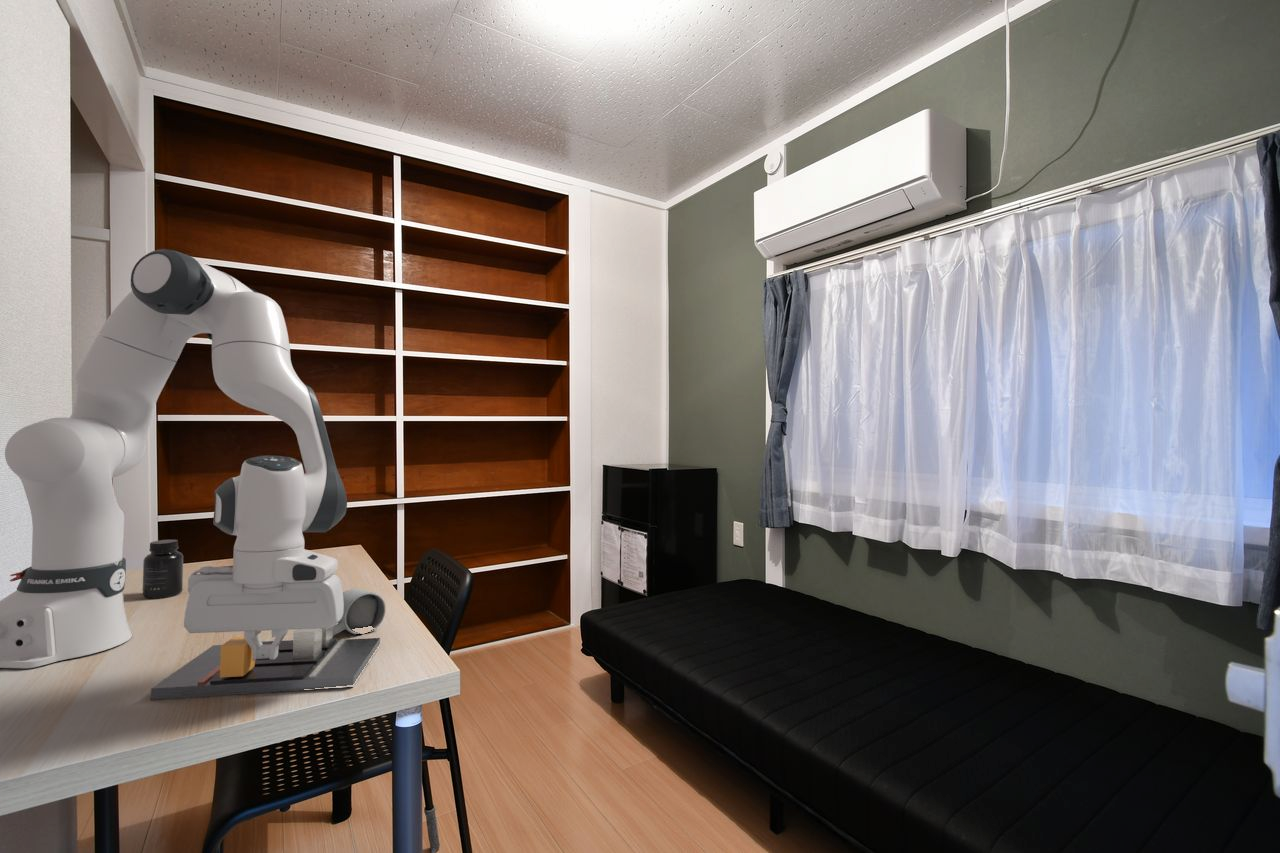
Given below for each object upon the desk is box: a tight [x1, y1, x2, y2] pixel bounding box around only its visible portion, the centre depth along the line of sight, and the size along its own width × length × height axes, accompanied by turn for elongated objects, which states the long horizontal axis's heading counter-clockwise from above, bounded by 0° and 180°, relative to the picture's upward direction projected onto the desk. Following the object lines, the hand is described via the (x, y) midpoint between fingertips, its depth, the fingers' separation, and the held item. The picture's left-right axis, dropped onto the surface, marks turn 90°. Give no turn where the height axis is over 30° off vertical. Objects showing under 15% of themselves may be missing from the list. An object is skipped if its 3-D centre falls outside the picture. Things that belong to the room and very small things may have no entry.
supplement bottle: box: [142, 539, 184, 600], centre depth 124 cm, size 7×7×12 cm
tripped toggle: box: [220, 636, 255, 677], centre depth 82 cm, size 3×4×4 cm
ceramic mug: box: [333, 588, 387, 637], centre depth 106 cm, size 11×8×8 cm
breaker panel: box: [150, 626, 381, 701], centre depth 88 cm, size 26×16×6 cm, turn 102°
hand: (265, 658), depth 83 cm, fingers closed
